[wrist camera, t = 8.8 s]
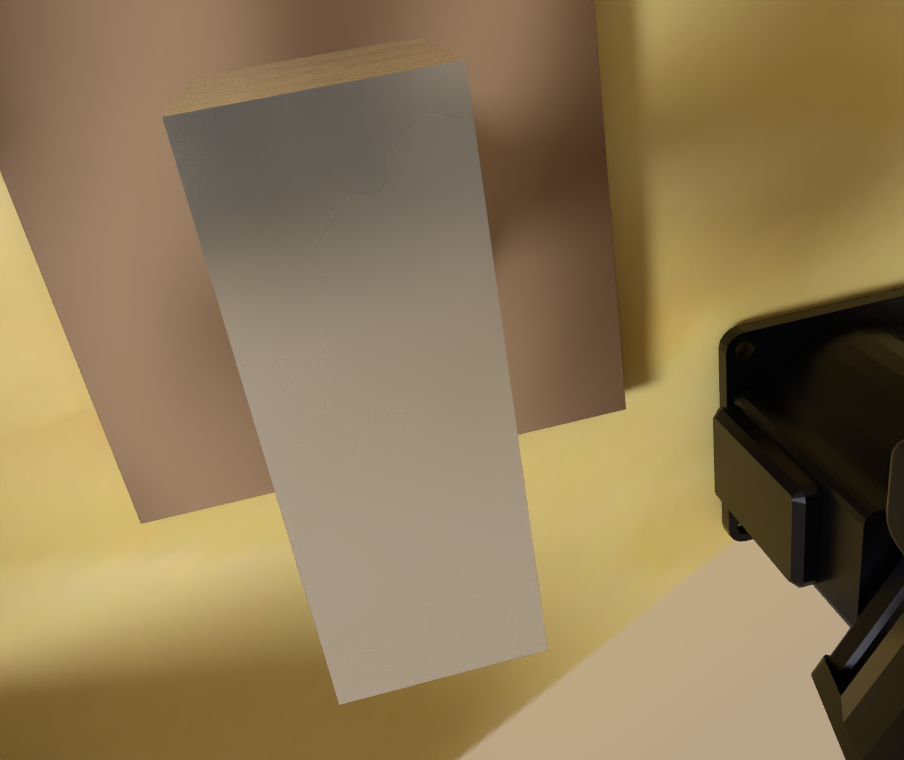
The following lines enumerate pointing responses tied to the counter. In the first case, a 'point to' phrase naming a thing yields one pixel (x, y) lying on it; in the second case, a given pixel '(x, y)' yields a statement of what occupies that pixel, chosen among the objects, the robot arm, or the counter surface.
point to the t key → (370, 350)
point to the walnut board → (175, 237)
